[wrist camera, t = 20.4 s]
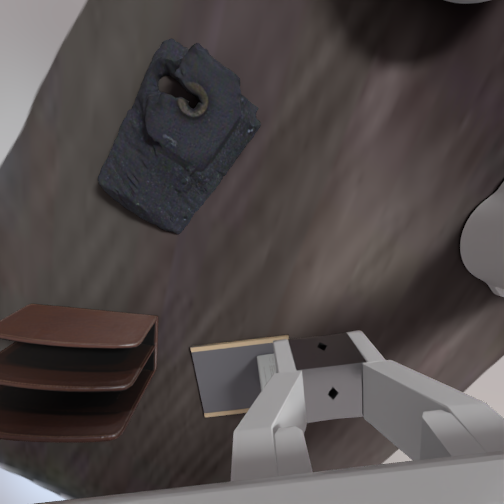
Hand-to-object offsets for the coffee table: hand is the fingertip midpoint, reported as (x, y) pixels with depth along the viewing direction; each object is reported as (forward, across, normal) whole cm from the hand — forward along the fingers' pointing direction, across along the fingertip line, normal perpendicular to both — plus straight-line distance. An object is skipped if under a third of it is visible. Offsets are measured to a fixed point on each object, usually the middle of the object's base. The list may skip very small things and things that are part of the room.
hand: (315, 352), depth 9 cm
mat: (+29, +6, +25) cm, 39 cm away
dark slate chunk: (+30, +10, -12) cm, 34 cm away
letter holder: (+30, +29, +14) cm, 44 cm away
